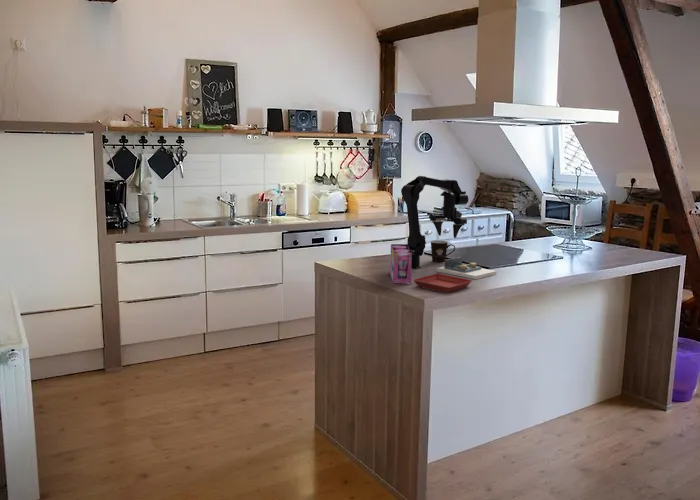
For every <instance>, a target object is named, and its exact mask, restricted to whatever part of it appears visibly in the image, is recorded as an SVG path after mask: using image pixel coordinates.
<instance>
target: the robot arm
mask: <svg viewBox="0 0 700 500" xmlns="http://www.w3.org/2000/svg"><path fill="white" fill-rule="evenodd" d="M425 186H429V187H434V188H435V187H436V188H439V189H440V190H443V191H442V193H441V194H440V196H441V197H443V200H442V201H443V203H442V204H443V205H442V206H441V207H440V208H441V210H442V214H431V215H430V217H429V221H431V223H433V225H434V227H435V229H436V232H437V235H438V236H441V235H442V225H443V223H444V222H453V224H452V231H453V232H452V233H453V239H456V238H457V236H458V233H459V231H460V229H461V228H462V227H463V226H465V225H466V224H468V219H467V218H466V217H462V216H463V215H462V214H463V213H462V212H460V211H458V208H457V207H456V206H462V205H463V206H464V205H465V206H466V205H467V204H468V203H469V199H470V198H469V196H468V194H467V192H466V190H462V189H461V187H460V185H459V182H458V180H456V179H448V178H444V179H439V178H433V177H428V176H425V175H418V176H417V177H415V178H414V179H413V180H410V181H408V182H407V183H406V184H404V185H403V186H402V188H401V189H400V193H401V196H402V199H403V201H404V202H405V204H406V211H407V219H408V220H407V222H408V228H409V230H408V231H409V235H408V237H407V242H406V244H408V247H409V249H410V250H411V252H412V260H411V270H415V269H420V268H422V266H421V264H420V263H421V261H420V260H421V259H420V258H421V256H423V254H424V251H425V249H426V245H427V242H426V235H424V234H423V235H422V233H421V229H420V220H419V219H420V218H419V210H418V202H419V200H420V194H421V193H422V192H423V190H424V188H425Z"/></svg>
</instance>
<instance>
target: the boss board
mask: <svg viewBox="0 0 700 500" xmlns="http://www.w3.org/2000/svg"><path fill="white" fill-rule="evenodd" d="M468 265H469V266H471V267H472V268H474V266H477V263H476V262H470V263H468ZM460 268H462V269H463V270H465V268H467V265H460ZM436 272H438V273H442V274H446V275H447V274H448V275H451V276H458V277H461V278H466V279H467V278H468V279H471V280H477V279H478V280H479V279H482V278H487V277H490V276H495V275H497V270H493V269H489V268H488V269H486V268H483V267H481V269H479V270H475V271H470V272H466V273H465V272H460V271H455V270H450V269H445V268H444V266H440V267H436Z"/></svg>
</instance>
